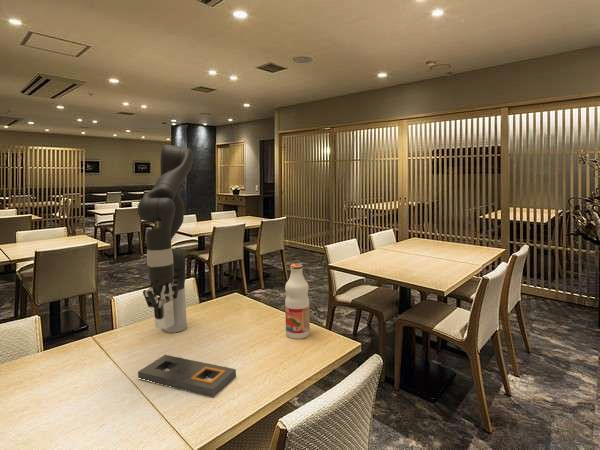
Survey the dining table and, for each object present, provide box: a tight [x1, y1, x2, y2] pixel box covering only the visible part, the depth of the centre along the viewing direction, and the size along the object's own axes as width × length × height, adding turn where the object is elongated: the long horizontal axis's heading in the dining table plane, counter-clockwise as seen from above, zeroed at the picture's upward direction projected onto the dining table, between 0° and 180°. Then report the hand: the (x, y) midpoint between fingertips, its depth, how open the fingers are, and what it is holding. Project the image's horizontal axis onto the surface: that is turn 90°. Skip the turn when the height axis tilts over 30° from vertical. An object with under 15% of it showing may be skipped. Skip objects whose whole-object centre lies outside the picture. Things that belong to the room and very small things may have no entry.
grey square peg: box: [153, 299, 174, 330], centre depth 120 cm, size 4×4×8 cm
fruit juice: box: [284, 263, 311, 340], centre depth 149 cm, size 9×9×28 cm
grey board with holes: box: [137, 354, 237, 398], centre depth 120 cm, size 28×12×3 cm, turn 68°
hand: (164, 315), depth 120 cm, fingers closed on grey square peg, 4 cm apart
